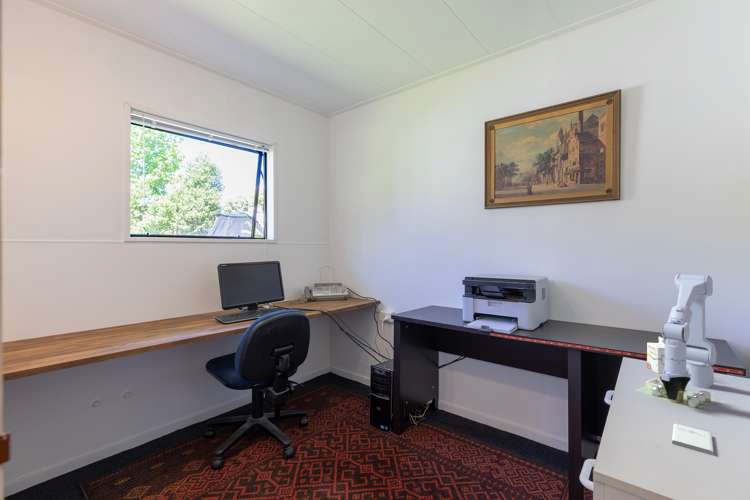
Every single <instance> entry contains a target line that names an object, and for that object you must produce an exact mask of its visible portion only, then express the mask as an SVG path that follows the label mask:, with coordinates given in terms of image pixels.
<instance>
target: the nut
mask: <svg viewBox="0 0 750 500" xmlns="http://www.w3.org/2000/svg"><path fill="white" fill-rule="evenodd" d="M667 399H668V400H670V401H673V402H676V403H683V399H684V391H683V389H681V388H679V389H678V394H677V399H676V400H672V399H669V398H668V397H667ZM676 403H675V404H676Z"/></svg>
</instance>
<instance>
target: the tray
mask: <svg viewBox="0 0 750 500" xmlns="http://www.w3.org/2000/svg"><path fill="white" fill-rule="evenodd" d="M658 384H663V383H662V381H661V380H660V378H658V377H655V378H651V379H648V380H646V381H645V382H644V386H646V387H650V388H652V386H653V385H655V386H658Z"/></svg>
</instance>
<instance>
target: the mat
mask: <svg viewBox="0 0 750 500" xmlns="http://www.w3.org/2000/svg"><path fill="white" fill-rule="evenodd" d="M634 391H635V392H638V393H641V394H644V395H648V396H651V397H653V398H658V399H660V400H664V401H666V402H670V403H673V404H676V405H679V406H683V407H686V408H689V409H692V410H695V411H696V410H698V409H695V408H690V407H688V406H687V396H693V393H695V392H693V391H690V390H686V389H685V391H684V399H683V403H676V402H673V401H670V400H668V399H667V395H663V397H656V396H653V395H652V388H650V387H646V386H645V385H644V386H642V387H639V388H636V389H634ZM716 401H719V399H717V398H714V397H712V396H711V403H705V406H707V405H709V404H712V403H714V402H716ZM703 407H704V406H700V405H699V409H701V408H703Z"/></svg>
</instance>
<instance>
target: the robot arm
mask: <svg viewBox="0 0 750 500" xmlns="http://www.w3.org/2000/svg"><path fill="white" fill-rule="evenodd" d="M673 281H674V288H675V289H676V292H678V296H677V297H678V298H677V302H676V305H675V306H672V307H671V309H670V312H669V316H668V318H667V321H666V323H663V324H662V327H661V336H662V337H661V338H663V341H662V342H663V343H664V344H665V369H664V371H663V373H662V374H660V376H659V379H660V380H661V381H662V383H663V385H664V387H665V390H666V393H667V397H668V398H669V399H672V400H676V399H677V394H678V389H679V388H681V389H683V391H685V390H686V388H687V386H692V387H695V388H700V389H710V388H711V387H712V386H713V387H717V385H715V384H714V382H715V381H714V380H715V379H714V378H715V376H714V372H715V371H714V368H713V366H714V365H716V362H717V357H718V355H717V351H716V345H715V344H714V343H713V342H711V341H710V340H708V339H707V338H706V299H707V297H710V296H713V289H714V288H713V286H714V284H713V283H714V282H713V278H712V276H711V275H709V274H706V275H704V274H703V275H700V274H684V273H682V274H681V273H677V274H676V275H675V278H674V280H673Z"/></svg>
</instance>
